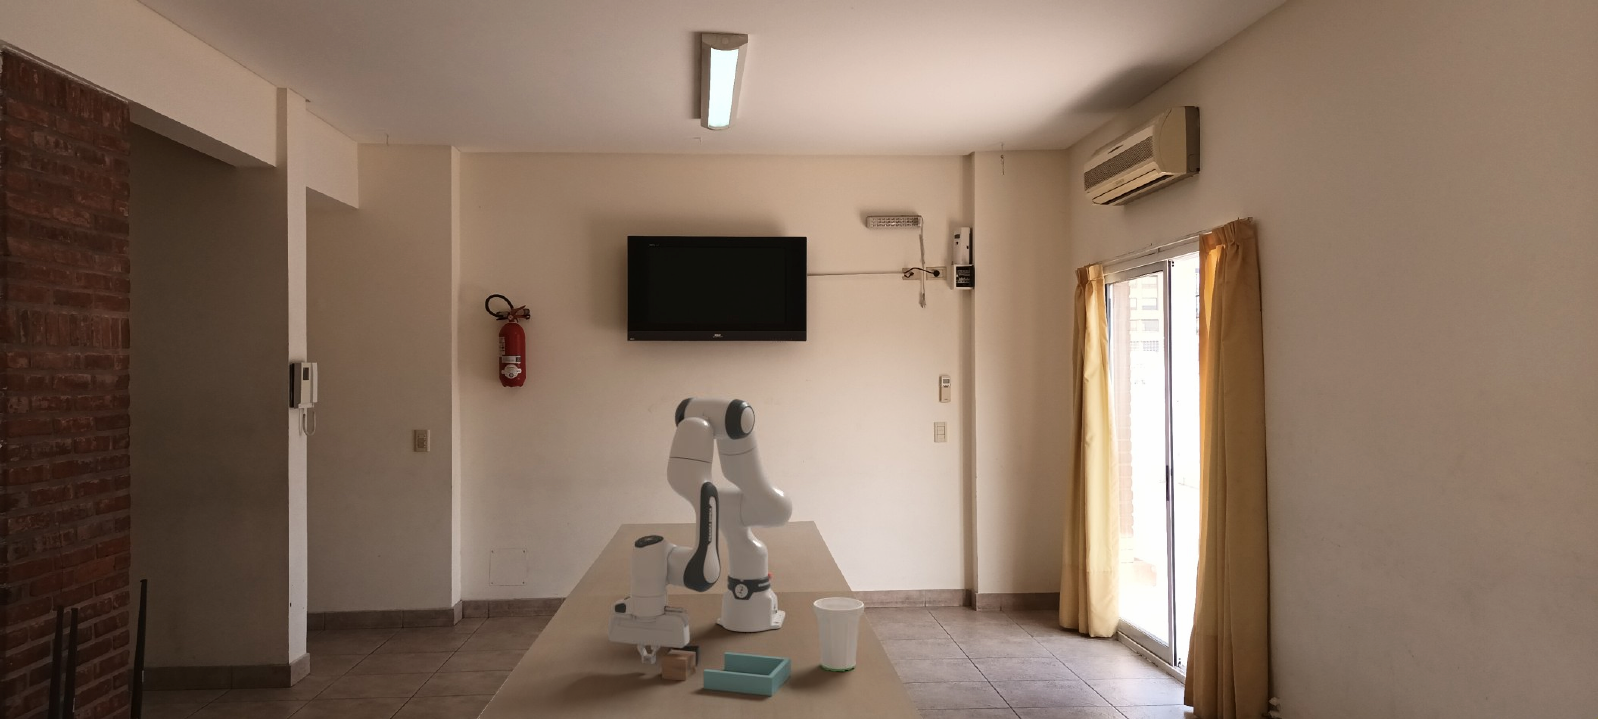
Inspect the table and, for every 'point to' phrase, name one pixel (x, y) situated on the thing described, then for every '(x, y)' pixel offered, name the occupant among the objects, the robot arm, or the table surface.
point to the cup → (838, 631)
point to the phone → (688, 648)
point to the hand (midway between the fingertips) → (648, 662)
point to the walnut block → (678, 665)
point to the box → (749, 682)
